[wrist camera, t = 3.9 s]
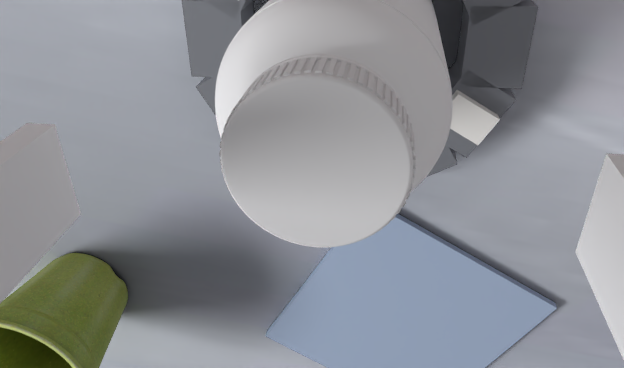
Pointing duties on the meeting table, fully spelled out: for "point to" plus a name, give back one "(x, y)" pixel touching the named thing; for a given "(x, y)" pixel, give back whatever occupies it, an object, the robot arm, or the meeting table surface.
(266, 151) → the pill bottle
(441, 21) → the meeting table surface
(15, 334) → the plant pot
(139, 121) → the meeting table surface
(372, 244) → the rubber mat
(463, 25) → the holder ring
